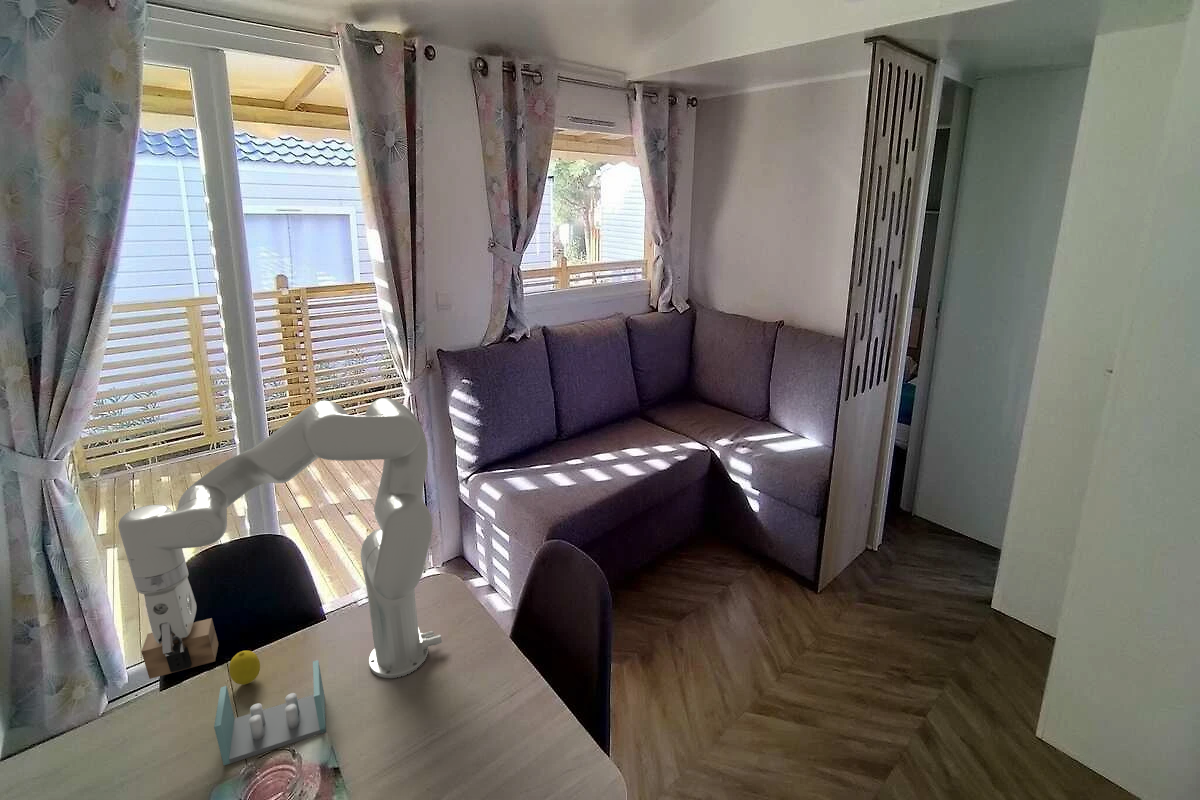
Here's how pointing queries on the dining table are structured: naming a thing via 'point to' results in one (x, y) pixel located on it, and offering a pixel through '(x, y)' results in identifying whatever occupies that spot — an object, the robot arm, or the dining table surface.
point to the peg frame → (269, 723)
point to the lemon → (244, 667)
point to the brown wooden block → (197, 642)
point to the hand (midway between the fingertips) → (184, 657)
